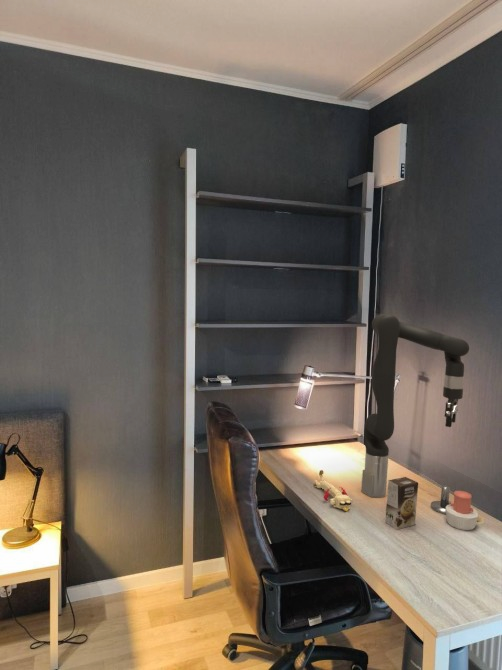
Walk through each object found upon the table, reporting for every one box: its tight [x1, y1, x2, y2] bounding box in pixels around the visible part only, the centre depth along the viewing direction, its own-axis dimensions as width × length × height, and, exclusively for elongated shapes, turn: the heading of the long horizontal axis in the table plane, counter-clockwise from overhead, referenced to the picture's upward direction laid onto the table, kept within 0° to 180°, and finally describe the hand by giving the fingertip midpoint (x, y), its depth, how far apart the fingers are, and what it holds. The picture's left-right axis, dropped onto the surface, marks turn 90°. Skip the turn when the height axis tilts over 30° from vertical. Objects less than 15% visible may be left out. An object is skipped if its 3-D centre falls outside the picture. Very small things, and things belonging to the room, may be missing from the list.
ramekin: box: [445, 504, 479, 531], centre depth 171 cm, size 11×11×5 cm
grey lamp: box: [430, 484, 452, 515], centre depth 182 cm, size 10×10×9 cm
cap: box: [450, 490, 474, 514], centre depth 170 cm, size 8×6×6 cm
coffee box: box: [384, 476, 419, 530], centre depth 169 cm, size 9×6×16 cm
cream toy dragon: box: [313, 469, 353, 512], centre depth 188 cm, size 10×9×25 cm
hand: (450, 424), depth 194 cm, fingers open, 8 cm apart
